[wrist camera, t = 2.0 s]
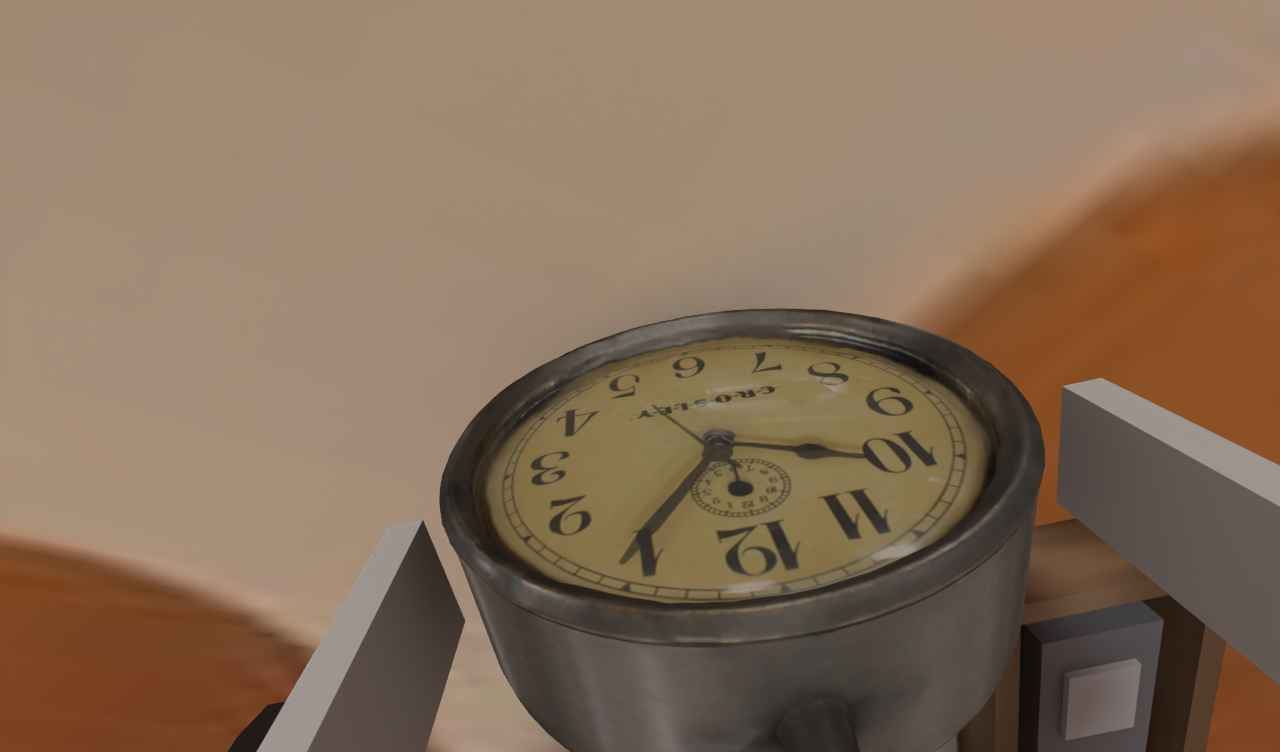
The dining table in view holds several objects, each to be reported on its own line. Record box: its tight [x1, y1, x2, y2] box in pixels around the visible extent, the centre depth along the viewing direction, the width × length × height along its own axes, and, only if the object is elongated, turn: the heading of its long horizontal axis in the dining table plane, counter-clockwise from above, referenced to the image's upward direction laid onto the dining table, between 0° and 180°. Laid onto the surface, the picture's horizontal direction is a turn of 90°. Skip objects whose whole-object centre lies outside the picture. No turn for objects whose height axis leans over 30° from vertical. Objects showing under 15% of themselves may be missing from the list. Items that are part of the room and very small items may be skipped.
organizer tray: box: [936, 519, 1226, 752], centre depth 23 cm, size 18×16×3 cm
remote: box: [1018, 601, 1164, 752], centre depth 23 cm, size 4×11×2 cm, turn 12°
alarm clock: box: [440, 309, 1045, 752], centre depth 11 cm, size 11×5×16 cm, turn 100°
